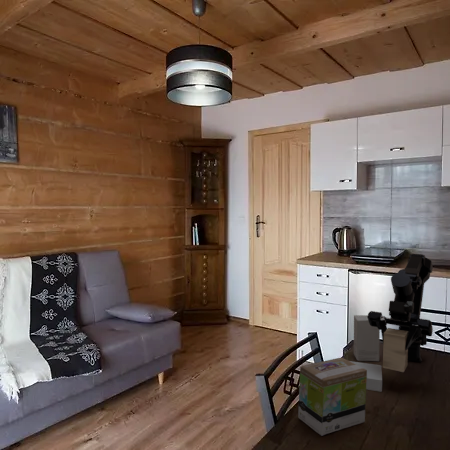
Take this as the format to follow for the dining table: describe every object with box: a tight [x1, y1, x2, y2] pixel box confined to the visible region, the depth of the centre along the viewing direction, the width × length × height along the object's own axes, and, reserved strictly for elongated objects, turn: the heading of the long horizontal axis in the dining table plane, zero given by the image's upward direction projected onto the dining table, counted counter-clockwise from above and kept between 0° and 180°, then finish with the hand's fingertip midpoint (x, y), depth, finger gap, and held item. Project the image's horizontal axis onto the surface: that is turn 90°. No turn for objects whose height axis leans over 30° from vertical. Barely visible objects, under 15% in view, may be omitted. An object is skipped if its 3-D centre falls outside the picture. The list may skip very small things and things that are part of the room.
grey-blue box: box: [349, 360, 383, 393], centre depth 131 cm, size 12×12×4 cm
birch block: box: [382, 327, 409, 373], centre depth 125 cm, size 6×6×11 cm
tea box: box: [297, 356, 367, 437], centre depth 107 cm, size 15×10×15 cm
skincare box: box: [353, 314, 381, 362], centre depth 149 cm, size 8×7×16 cm
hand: (394, 347), depth 124 cm, fingers closed on birch block, 6 cm apart
